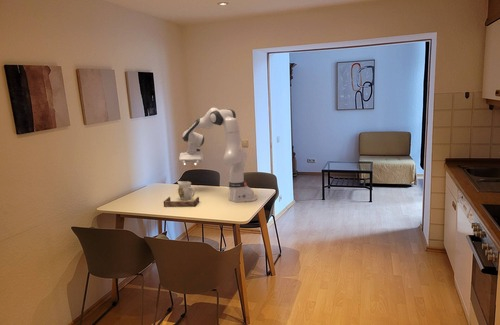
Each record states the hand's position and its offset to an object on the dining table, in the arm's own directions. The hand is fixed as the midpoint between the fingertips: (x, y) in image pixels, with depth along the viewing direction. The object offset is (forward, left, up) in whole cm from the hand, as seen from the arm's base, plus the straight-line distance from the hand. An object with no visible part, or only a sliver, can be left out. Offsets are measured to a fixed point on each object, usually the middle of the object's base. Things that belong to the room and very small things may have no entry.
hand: (190, 165), depth 316 cm
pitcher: (0, +17, -24) cm, 30 cm away
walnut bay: (0, +30, -24) cm, 38 cm away
